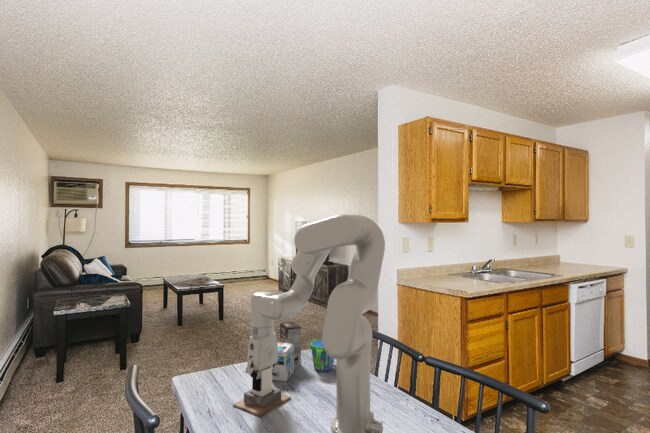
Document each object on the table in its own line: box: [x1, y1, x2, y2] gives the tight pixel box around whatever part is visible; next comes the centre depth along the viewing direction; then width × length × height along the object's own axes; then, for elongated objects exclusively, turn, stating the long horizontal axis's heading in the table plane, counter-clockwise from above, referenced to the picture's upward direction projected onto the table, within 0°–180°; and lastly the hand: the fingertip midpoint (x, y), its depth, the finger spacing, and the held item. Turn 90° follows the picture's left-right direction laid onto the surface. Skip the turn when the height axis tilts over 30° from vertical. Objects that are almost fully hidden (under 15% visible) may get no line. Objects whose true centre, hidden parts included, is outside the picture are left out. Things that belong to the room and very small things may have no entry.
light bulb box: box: [272, 342, 295, 382], centre depth 139 cm, size 11×7×11 cm, turn 168°
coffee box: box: [279, 321, 302, 368], centre depth 151 cm, size 9×6×16 cm
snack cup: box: [309, 338, 335, 373], centre depth 145 cm, size 16×11×10 cm
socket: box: [233, 386, 292, 418], centre depth 117 cm, size 12×14×3 cm
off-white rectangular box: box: [251, 366, 273, 397], centre depth 118 cm, size 4×4×8 cm
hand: (262, 386), depth 118 cm, fingers closed on off-white rectangular box, 4 cm apart
